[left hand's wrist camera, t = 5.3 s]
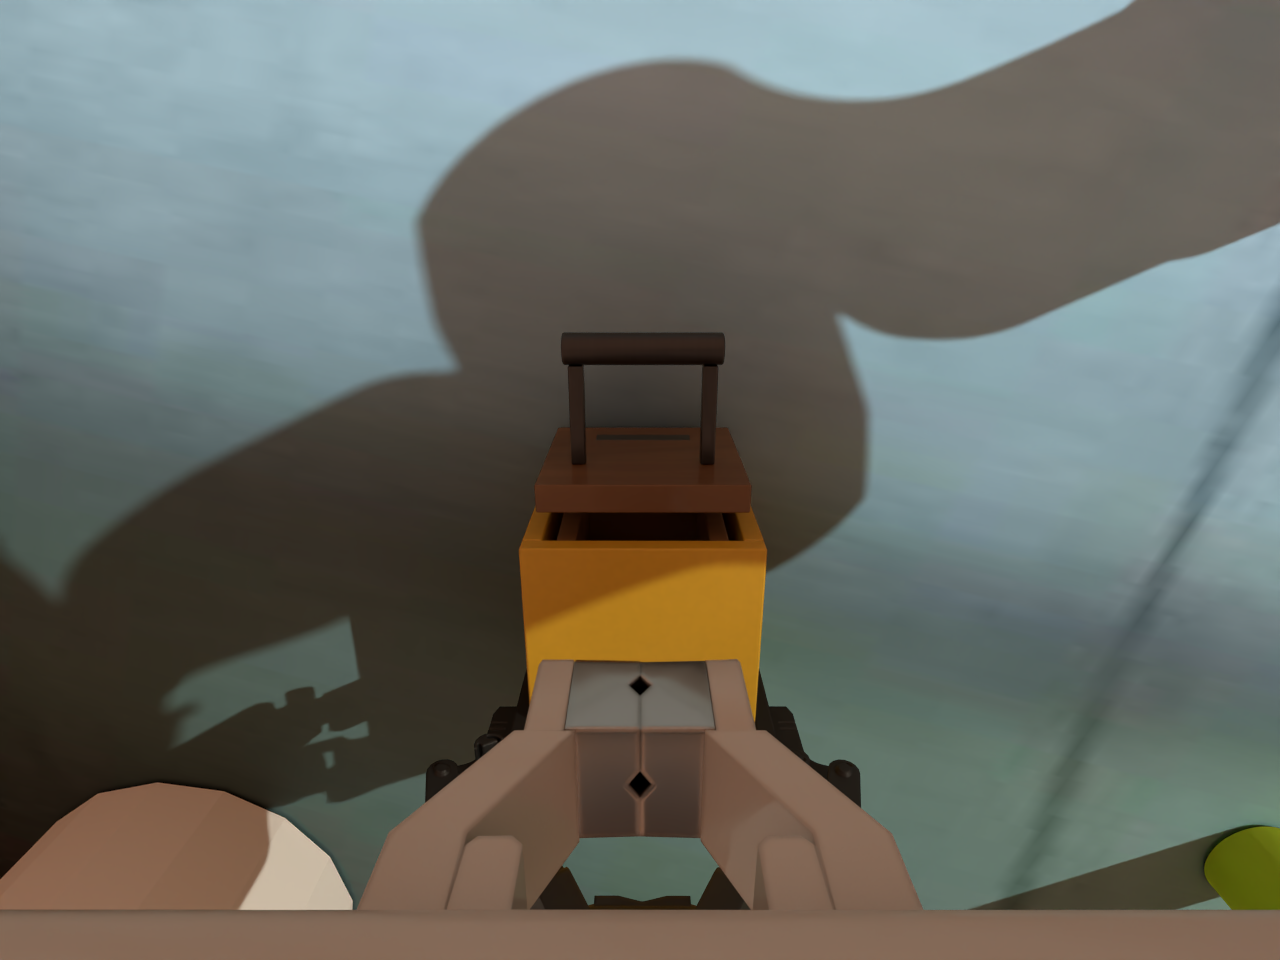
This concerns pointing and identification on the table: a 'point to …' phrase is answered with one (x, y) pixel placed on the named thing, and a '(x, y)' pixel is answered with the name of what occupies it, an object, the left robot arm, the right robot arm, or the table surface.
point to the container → (173, 857)
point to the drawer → (643, 453)
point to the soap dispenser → (1247, 869)
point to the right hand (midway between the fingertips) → (642, 674)
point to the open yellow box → (644, 598)
